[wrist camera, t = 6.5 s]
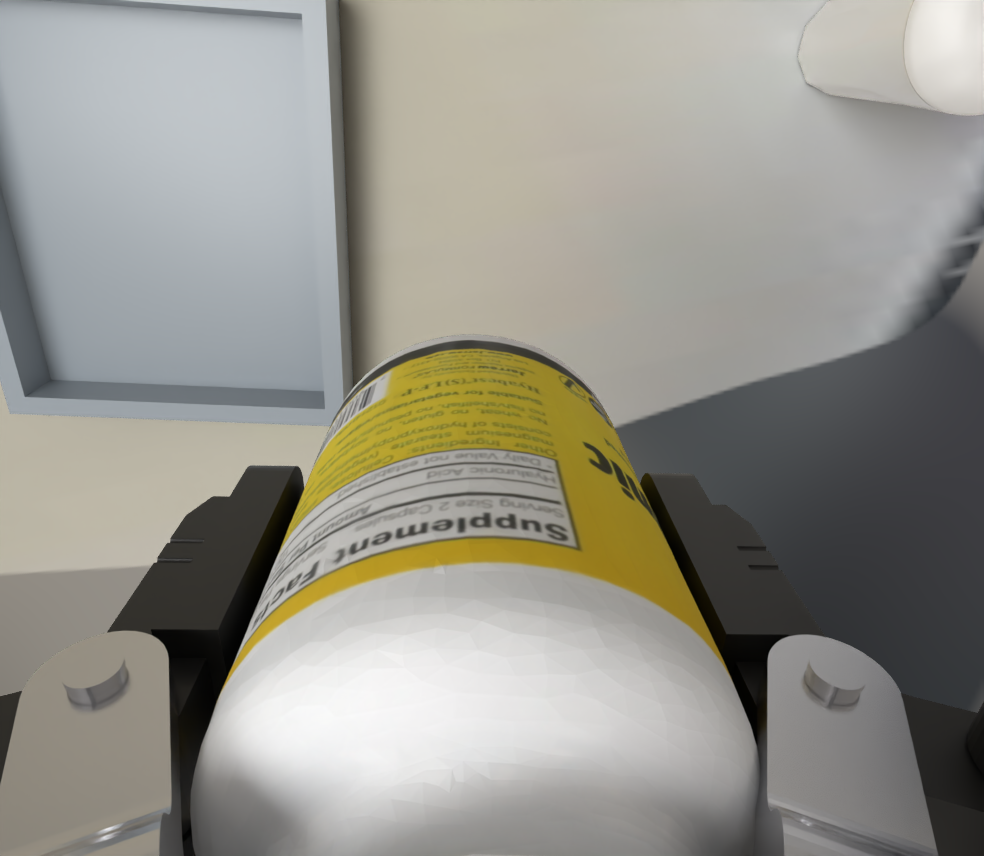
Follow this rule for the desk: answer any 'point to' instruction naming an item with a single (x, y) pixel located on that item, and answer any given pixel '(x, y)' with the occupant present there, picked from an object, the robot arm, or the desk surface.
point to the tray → (173, 210)
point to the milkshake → (899, 53)
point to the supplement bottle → (475, 641)
